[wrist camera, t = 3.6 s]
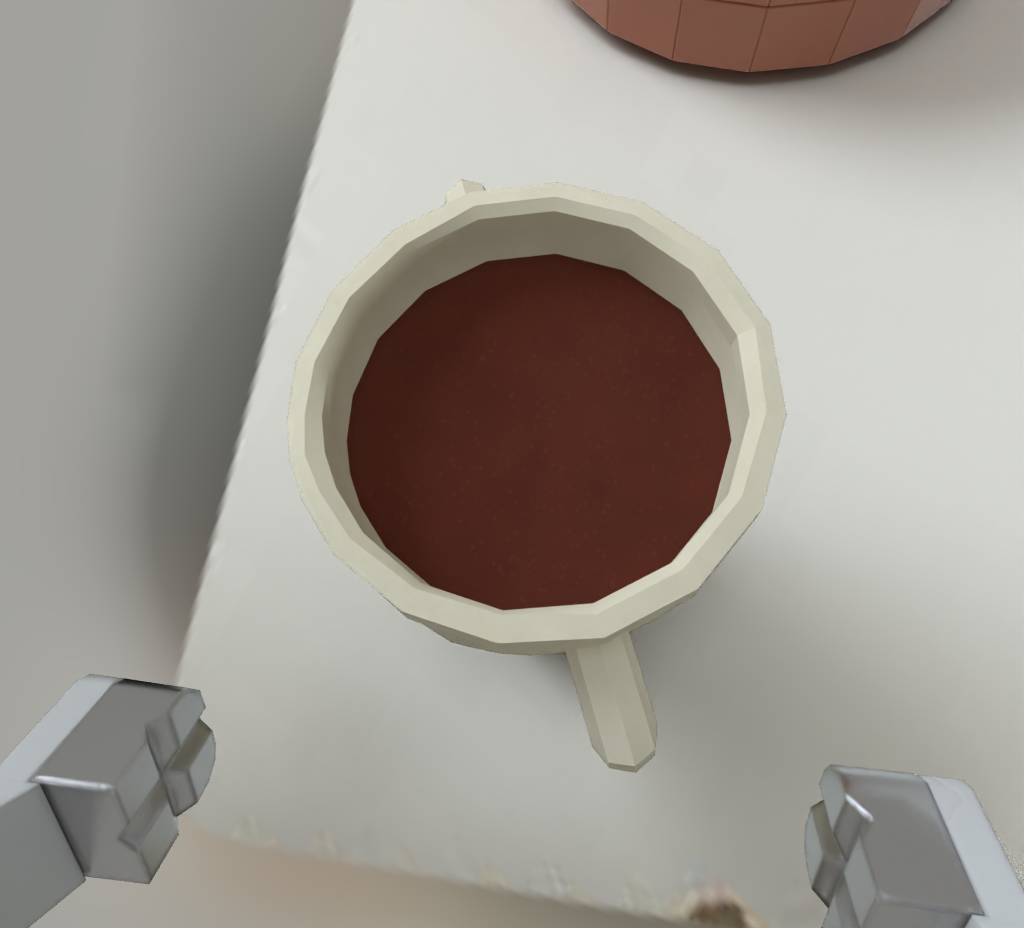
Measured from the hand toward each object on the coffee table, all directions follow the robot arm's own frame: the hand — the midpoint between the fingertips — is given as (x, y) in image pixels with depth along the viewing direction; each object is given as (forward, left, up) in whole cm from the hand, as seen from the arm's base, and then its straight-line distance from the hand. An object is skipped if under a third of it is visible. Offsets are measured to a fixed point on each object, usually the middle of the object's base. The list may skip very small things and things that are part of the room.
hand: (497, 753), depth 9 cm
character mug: (-1, +5, -13) cm, 13 cm away
